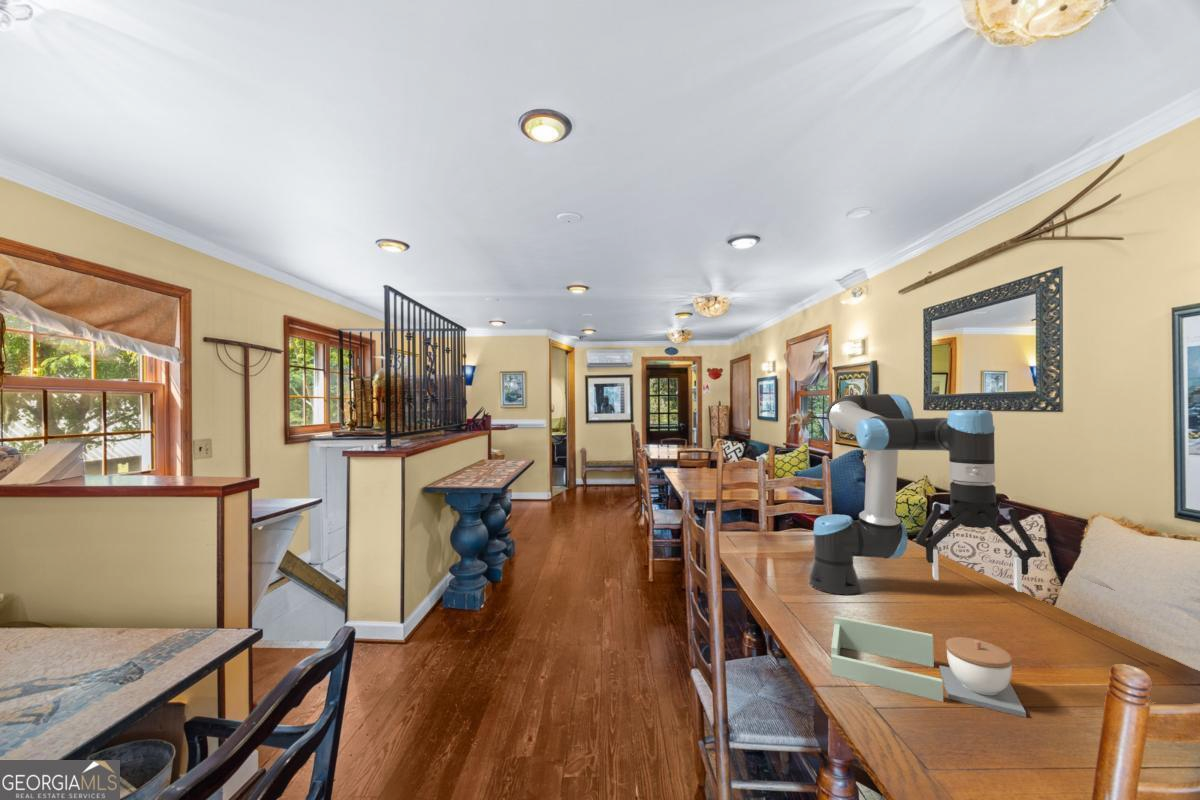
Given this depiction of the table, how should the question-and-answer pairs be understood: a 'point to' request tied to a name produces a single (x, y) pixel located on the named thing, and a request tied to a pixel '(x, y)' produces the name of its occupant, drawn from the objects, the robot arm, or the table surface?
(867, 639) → the frame
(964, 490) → the robot arm
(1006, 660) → the lidded jar
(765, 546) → the table surface
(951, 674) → the slate tile
